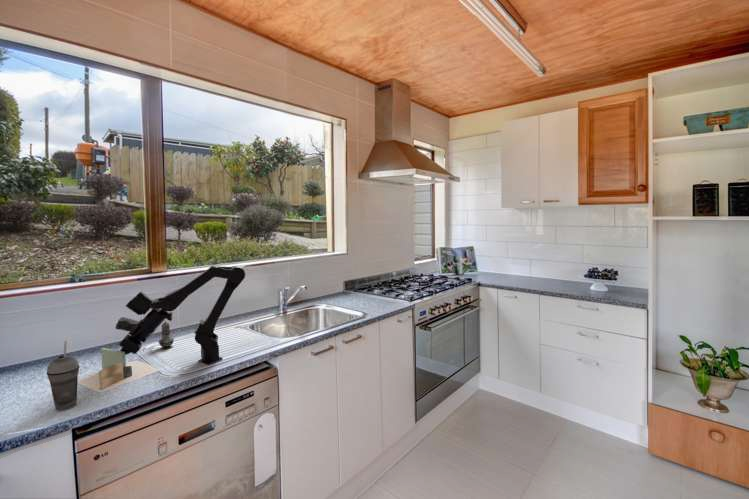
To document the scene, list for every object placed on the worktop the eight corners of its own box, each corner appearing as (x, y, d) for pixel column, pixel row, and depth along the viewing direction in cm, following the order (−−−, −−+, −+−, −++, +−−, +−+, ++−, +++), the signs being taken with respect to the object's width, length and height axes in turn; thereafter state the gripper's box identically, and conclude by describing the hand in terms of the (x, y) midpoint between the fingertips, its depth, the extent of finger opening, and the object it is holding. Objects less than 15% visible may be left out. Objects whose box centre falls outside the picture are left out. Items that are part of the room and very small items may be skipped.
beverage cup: (62, 401, 108) (57, 337, 106) (88, 400, 108) (83, 336, 107) (42, 415, 100) (36, 346, 99) (70, 413, 101) (64, 345, 99)
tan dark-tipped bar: (128, 374, 126) (127, 357, 126) (133, 375, 126) (132, 358, 125) (98, 388, 115) (97, 370, 115) (104, 389, 115) (102, 371, 114)
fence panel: (126, 373, 126) (124, 351, 125) (123, 375, 125) (122, 352, 124) (105, 369, 129) (103, 347, 129) (102, 370, 129) (101, 348, 128)
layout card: (162, 369, 130) (162, 369, 130) (99, 393, 113) (99, 392, 113) (135, 361, 138) (135, 360, 138) (73, 381, 121) (73, 380, 121)
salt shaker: (167, 351, 149) (165, 323, 148) (155, 350, 150) (153, 322, 149) (177, 346, 154) (176, 319, 153) (166, 345, 156) (164, 318, 154)
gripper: (136, 303, 136) (105, 336, 133) (123, 316, 119) (86, 353, 116) (162, 320, 140) (132, 352, 137) (153, 335, 123) (118, 372, 120)
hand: (117, 357), depth 127 cm, fingers closed
